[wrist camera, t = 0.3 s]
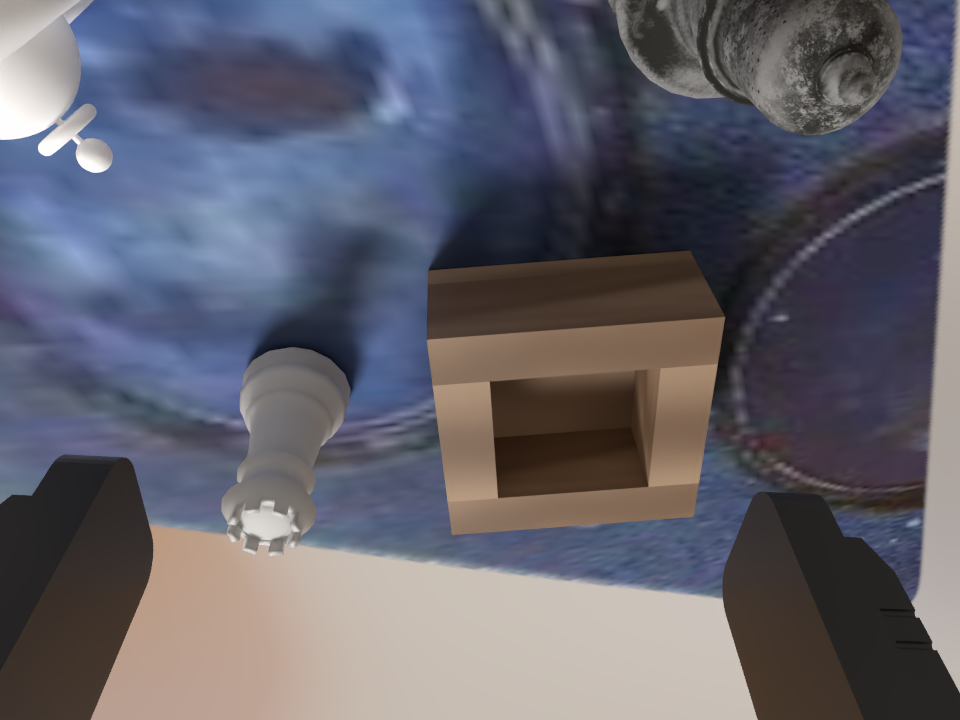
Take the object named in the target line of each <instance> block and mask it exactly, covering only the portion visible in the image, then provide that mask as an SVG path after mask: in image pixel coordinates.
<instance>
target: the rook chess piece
mask: <svg viewBox="0 0 960 720" xmlns="http://www.w3.org/2000/svg"><path fill="white" fill-rule="evenodd" d="M350 392H351V389H350V387H349V384H348V381H347V378H346V376H345V374H344V373H343V372H342V371H341V370H340V369H339V367H338V366H337V365H336V364H335V363H334V362H333V361H332V360H330V359H329V358H327V357H325V356H323V355H321V354H319V353H317V352H315V351H313V350H310V349H303V348H297V347H289V348H284V349H278V350H272V351H268V352H266V353H265V354H263V355H261V356H260V357H258V358H256V359H255V360H253V361H252V362H251V364H250V365H249V367H248V368H247V370H246V371H245V373H244V374H243V386H242V388H241V389H240V412H241V414H242V416H243V418H244V420H245V424H246V426H247V428H248V430H249V432H250V443H249V452H248V455H247V459H245V460H244V461H243V462H242V463H241V465H240V466H239V468H238V470H237V481H238V482H239V483H238V484H236V485H234V486H232V487H231V488H229V490H228V491H227V492H226V494H225V495H224V497H223V498H222V513H223V515H224V517H225V518H226V520H227V524H229V526H228V530H227V535H228V537H229V538H230V540H231V542H235V541H238V540H239V539H240V536H241V537H242V538H243V539H245V540H244V544H243V548H242V550H244V551H246V552H249V553H252V554H256V551H257V549H258V545H259V544H260V545H270V547H269V555H270V556H274V555H281V554H283V553H284V548H285V544H286V543H288V546H290V547H292V548H295V547H296V546H297V545H298V544H299V543H300V541H301V537H302V534H304V533H306V532H307V531H308V530H309V529H310V527H311V526H312V525H313V524H314V523H315V520H316V512H317V509H316V507H315V505H314V502H313V500H312V498H311V497H310V494H311V492H312V491H313V490H314V488H315V480H316V478H315V476H314V473H313V471H312V468H313V465H314V462H315V460H316V457H317V455H318V452H319V449H320V447H321V446H322V445H324V444H325V443H326V441H327V440H328V439H329V438H331V437H332V436H333V435H334V434H335V432H336V431H337V430H338V428H339V427H340V426H341V424H342V423H343V421H344V420H345V415H346V408H347V407H348V405H349V399H350Z"/></svg>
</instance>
